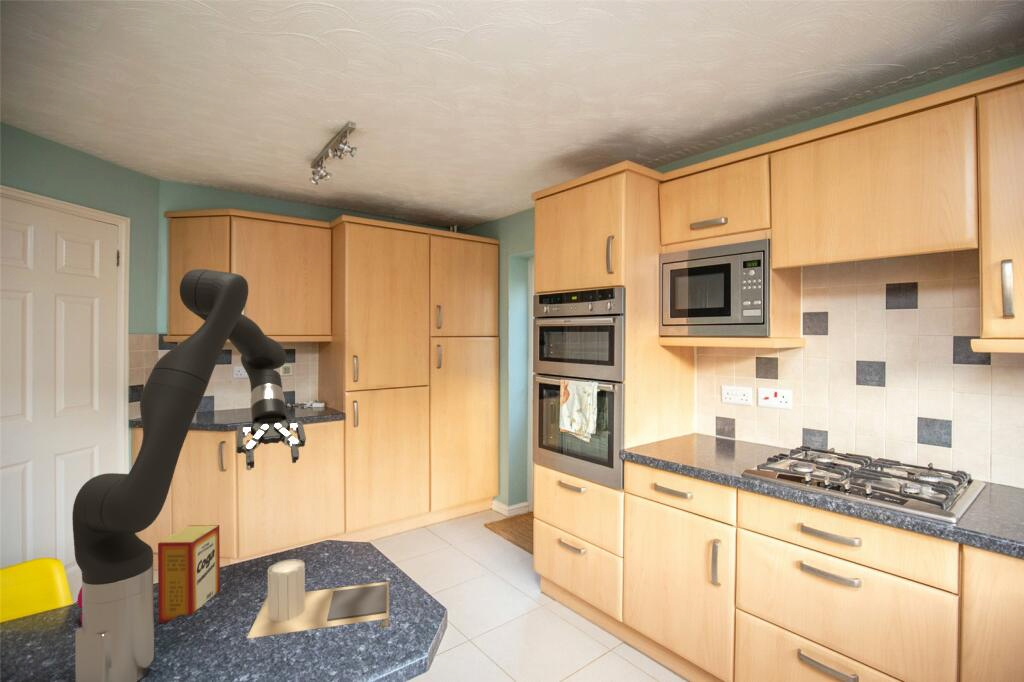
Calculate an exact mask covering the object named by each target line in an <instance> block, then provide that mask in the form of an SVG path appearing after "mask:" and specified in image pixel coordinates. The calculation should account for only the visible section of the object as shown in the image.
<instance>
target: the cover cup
mask: <svg viewBox="0 0 1024 682" xmlns="http://www.w3.org/2000/svg"><path fill="white" fill-rule="evenodd" d="M305 569H306V566H305V561H303V560H302V559H297V558H296V559H295V558H292V559H284V560H280V561H278V562H275V563H273V564H271V565H270V566H269V567H268V569H267V597H268V617H269V619H270V620H272V621H287V620H290V619H293V618H295V617H297V616H299V615H300V614H302V613H303V612H304V609H305V592H306V587H305V586H306V585H305V584H306V579H305V578H306V573H305V572H306V570H305Z"/></svg>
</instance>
